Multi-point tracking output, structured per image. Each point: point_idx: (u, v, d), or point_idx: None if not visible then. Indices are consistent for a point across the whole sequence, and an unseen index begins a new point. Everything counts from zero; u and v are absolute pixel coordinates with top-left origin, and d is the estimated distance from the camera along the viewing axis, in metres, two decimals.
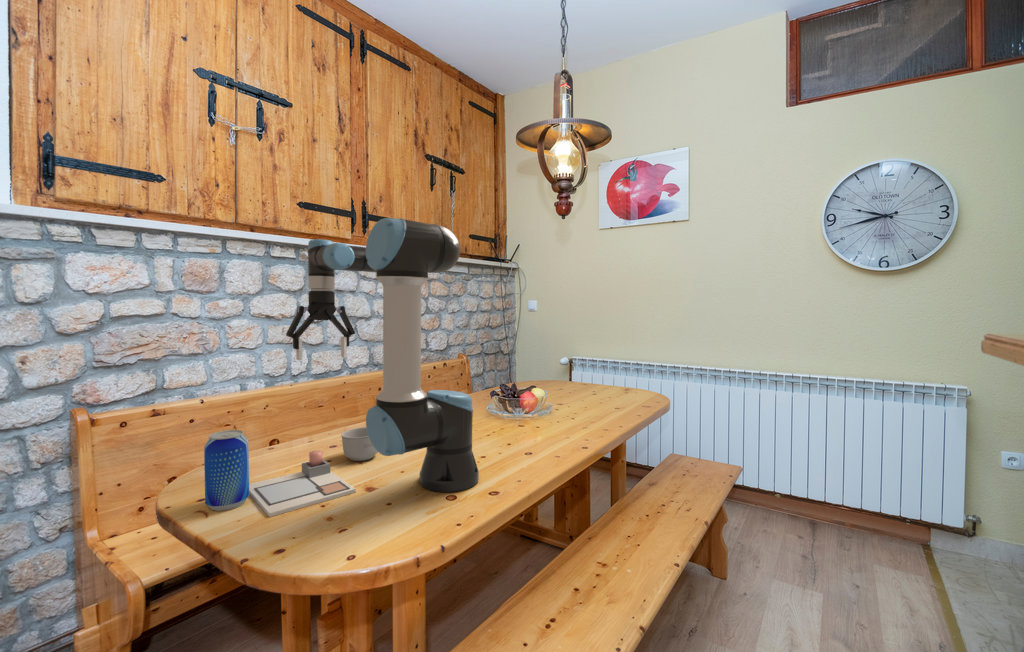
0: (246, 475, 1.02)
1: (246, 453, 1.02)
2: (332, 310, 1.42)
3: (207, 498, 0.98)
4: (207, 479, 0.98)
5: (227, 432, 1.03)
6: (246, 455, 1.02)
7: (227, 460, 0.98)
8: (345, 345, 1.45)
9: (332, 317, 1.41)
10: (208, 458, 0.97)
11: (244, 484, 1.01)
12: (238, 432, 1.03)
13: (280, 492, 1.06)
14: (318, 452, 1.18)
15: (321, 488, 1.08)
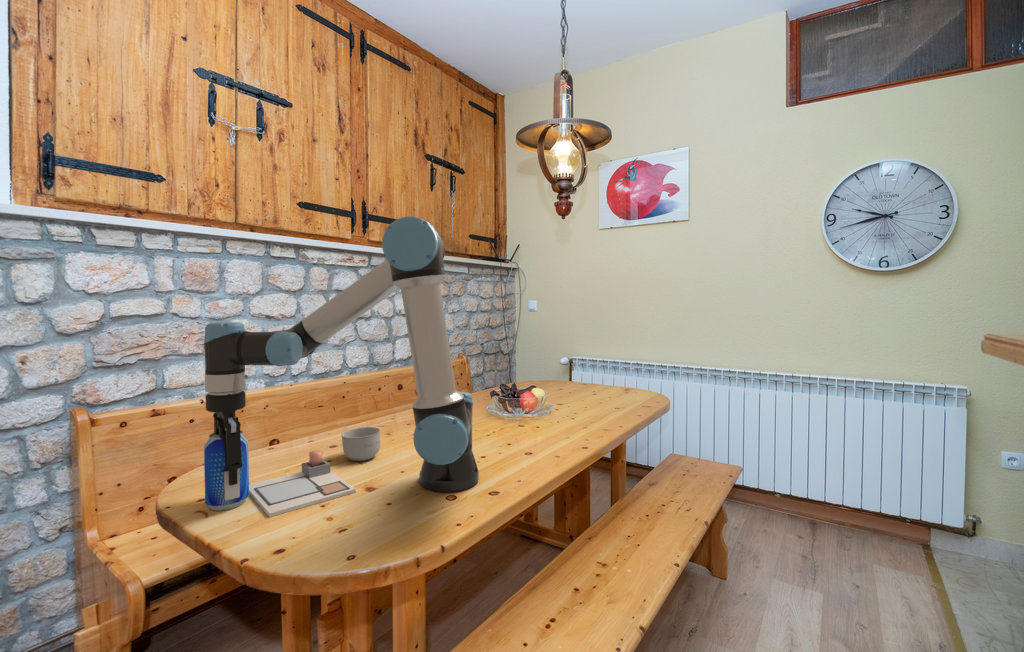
0: (246, 475, 1.02)
1: (246, 453, 1.02)
2: (223, 422, 0.98)
3: (207, 498, 0.98)
4: (207, 479, 0.98)
5: None
6: (246, 455, 1.02)
7: None
8: (224, 482, 0.97)
9: (219, 433, 0.98)
10: (208, 457, 0.97)
11: (244, 484, 1.01)
12: None
13: (280, 492, 1.06)
14: (318, 452, 1.18)
15: (321, 488, 1.08)
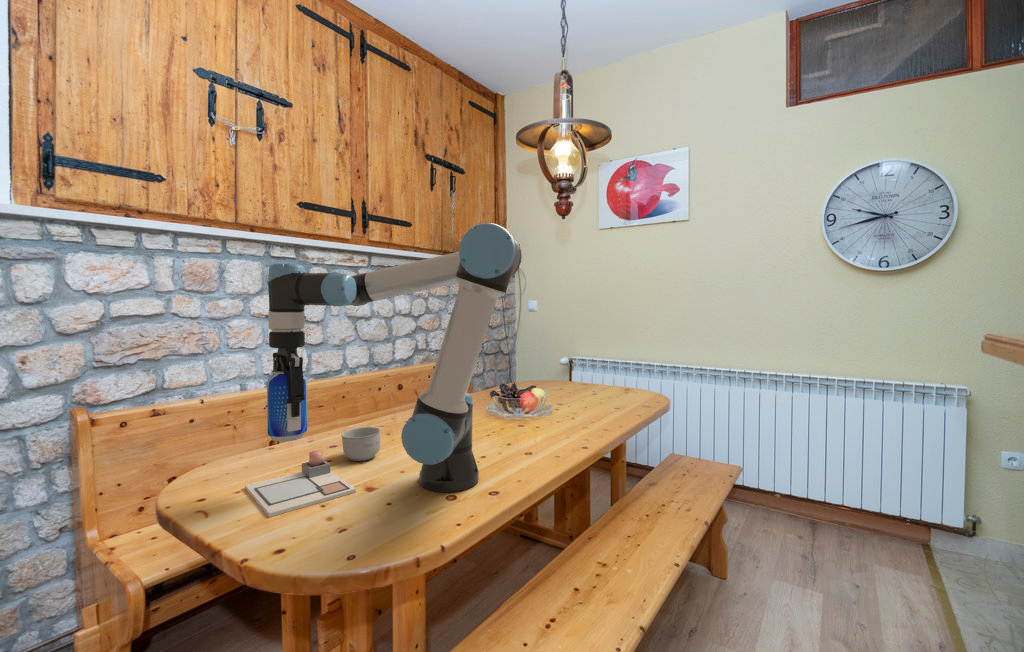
0: (305, 410, 1.07)
1: (305, 389, 1.07)
2: (286, 357, 1.03)
3: (270, 429, 1.04)
4: (271, 411, 1.03)
5: None
6: (305, 391, 1.07)
7: None
8: (287, 414, 1.03)
9: (282, 368, 1.04)
10: (272, 391, 1.03)
11: (304, 418, 1.06)
12: None
13: (280, 492, 1.06)
14: (318, 452, 1.18)
15: (321, 488, 1.08)
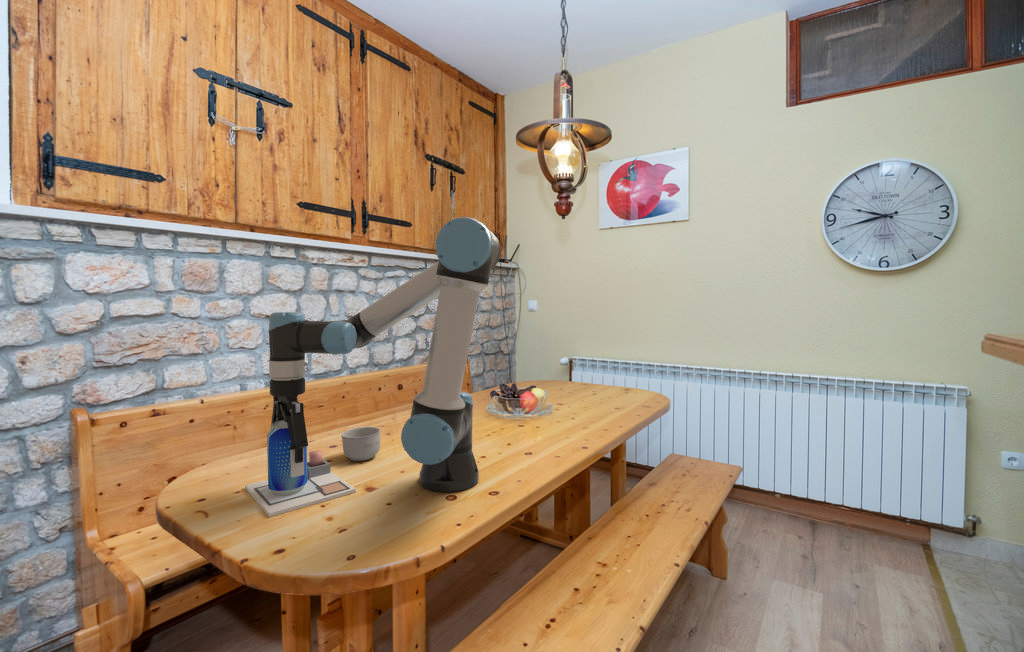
0: (306, 462, 1.08)
1: None
2: (287, 406, 1.04)
3: (271, 483, 1.04)
4: (272, 466, 1.03)
5: None
6: None
7: None
8: (291, 460, 1.02)
9: (283, 416, 1.04)
10: (273, 445, 1.03)
11: (304, 470, 1.07)
12: None
13: None
14: (318, 452, 1.18)
15: (321, 488, 1.08)
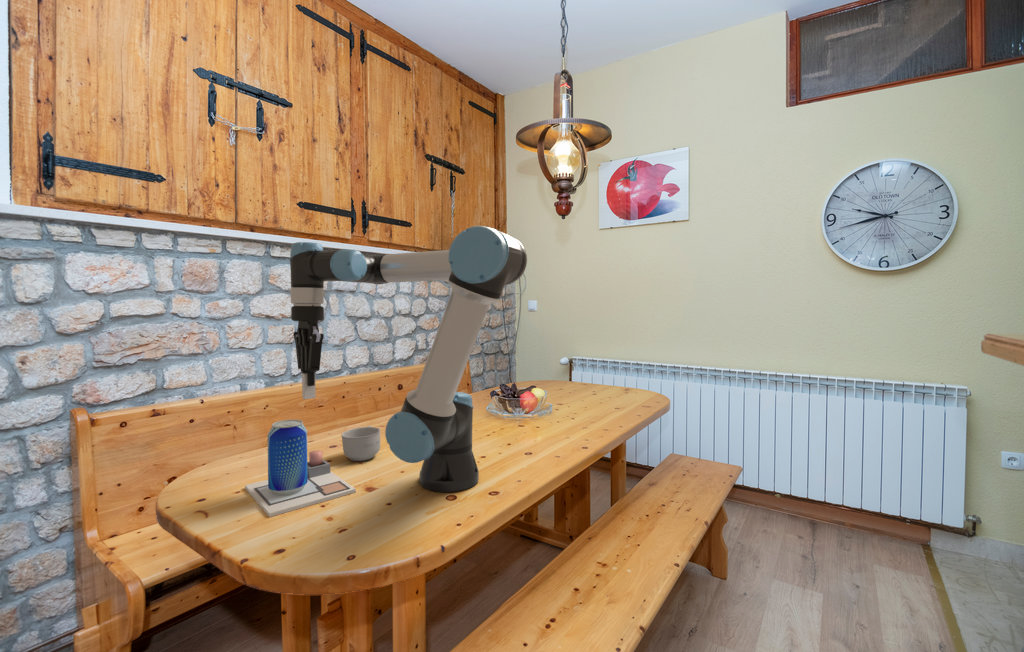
0: (306, 462, 1.08)
1: (306, 441, 1.08)
2: (307, 329, 1.11)
3: (271, 483, 1.04)
4: (272, 466, 1.04)
5: (286, 422, 1.09)
6: (306, 443, 1.08)
7: (291, 447, 1.04)
8: (303, 384, 1.13)
9: (303, 340, 1.12)
10: (273, 445, 1.03)
11: (304, 470, 1.07)
12: (297, 421, 1.09)
13: None
14: (318, 452, 1.18)
15: (321, 488, 1.08)
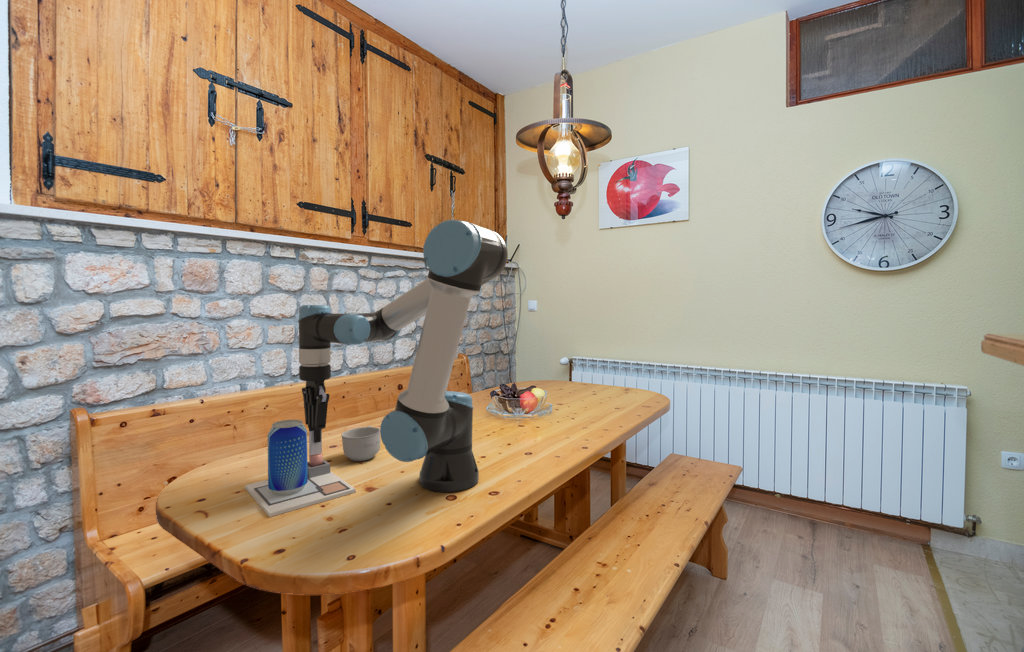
0: (306, 462, 1.08)
1: (306, 441, 1.08)
2: (314, 389, 1.15)
3: (271, 483, 1.04)
4: (272, 466, 1.04)
5: (286, 422, 1.09)
6: (306, 443, 1.08)
7: (291, 447, 1.04)
8: (310, 440, 1.17)
9: (310, 399, 1.16)
10: (273, 445, 1.03)
11: (304, 470, 1.07)
12: (297, 421, 1.09)
13: None
14: (318, 454, 1.18)
15: (321, 488, 1.08)
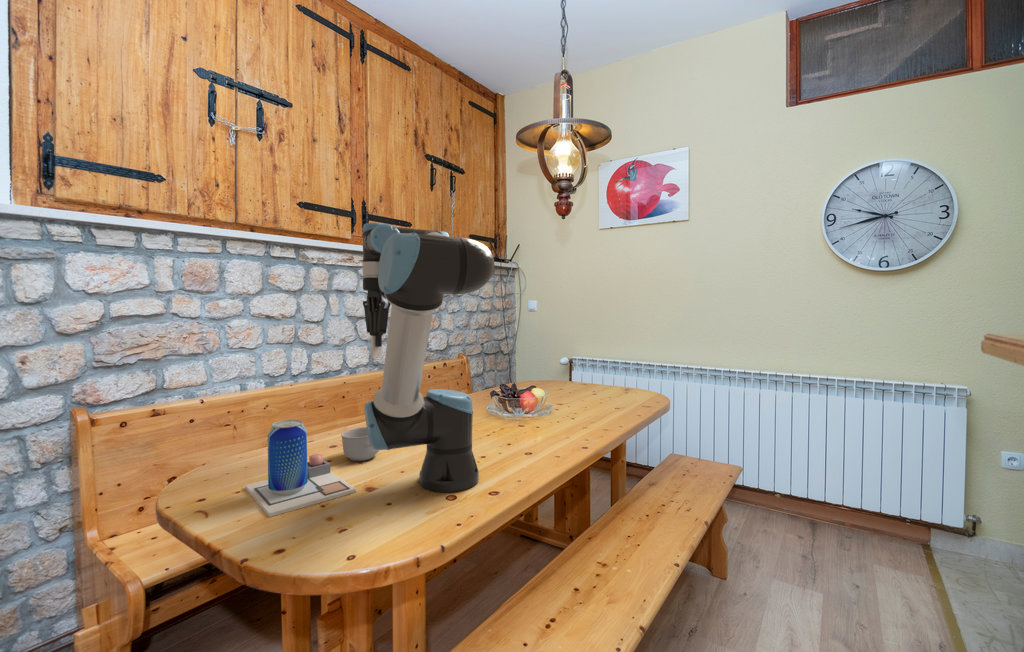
0: (306, 462, 1.08)
1: (306, 441, 1.08)
2: (377, 297, 1.30)
3: (271, 483, 1.04)
4: (272, 466, 1.04)
5: (286, 422, 1.09)
6: (306, 443, 1.08)
7: (291, 447, 1.04)
8: (372, 345, 1.32)
9: (372, 307, 1.31)
10: (273, 445, 1.03)
11: (304, 470, 1.07)
12: (297, 421, 1.09)
13: None
14: (318, 456, 1.18)
15: (321, 488, 1.08)
